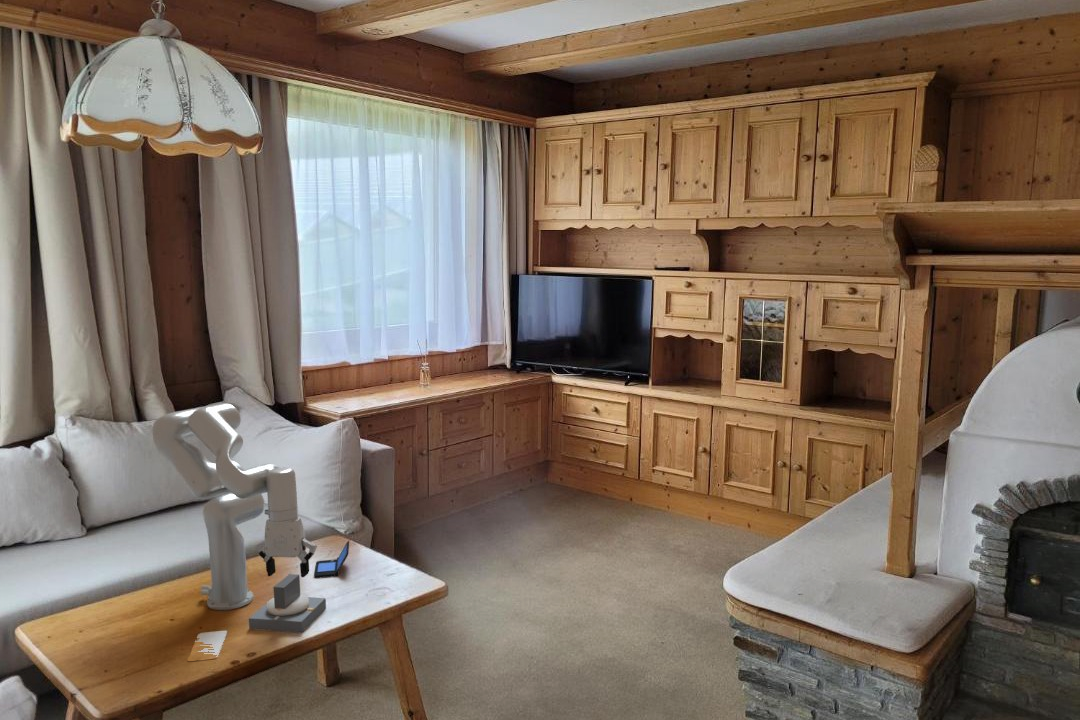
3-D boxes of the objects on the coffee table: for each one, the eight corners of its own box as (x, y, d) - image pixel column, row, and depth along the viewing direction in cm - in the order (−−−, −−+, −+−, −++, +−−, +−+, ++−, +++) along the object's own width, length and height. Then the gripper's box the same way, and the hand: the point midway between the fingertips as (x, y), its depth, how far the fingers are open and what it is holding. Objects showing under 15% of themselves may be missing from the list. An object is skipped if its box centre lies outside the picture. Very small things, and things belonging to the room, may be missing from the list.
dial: (279, 597, 227) (277, 571, 226) (315, 599, 225) (314, 574, 224) (259, 614, 216) (257, 587, 215) (297, 616, 215) (296, 590, 214)
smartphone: (186, 661, 198) (198, 633, 212) (186, 664, 198) (198, 635, 212) (217, 658, 199) (227, 630, 214) (217, 660, 199) (228, 632, 214)
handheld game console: (316, 564, 261) (315, 542, 260) (350, 561, 263) (349, 539, 262) (313, 579, 249) (312, 556, 248) (349, 576, 251) (348, 553, 250)
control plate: (249, 628, 215) (248, 617, 215) (276, 605, 230) (275, 594, 230) (301, 632, 213) (301, 621, 212) (326, 608, 227) (325, 597, 227)
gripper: (246, 517, 215) (251, 579, 217) (307, 518, 212) (311, 581, 214) (260, 509, 223) (265, 569, 225) (319, 510, 220) (323, 570, 222)
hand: (288, 574), depth 219 cm, fingers open, 9 cm apart
